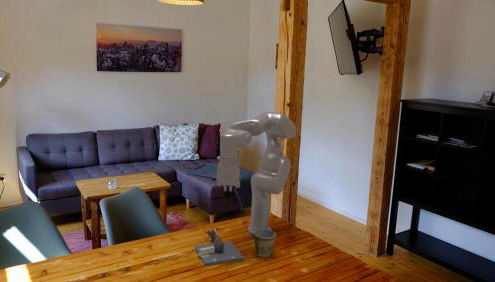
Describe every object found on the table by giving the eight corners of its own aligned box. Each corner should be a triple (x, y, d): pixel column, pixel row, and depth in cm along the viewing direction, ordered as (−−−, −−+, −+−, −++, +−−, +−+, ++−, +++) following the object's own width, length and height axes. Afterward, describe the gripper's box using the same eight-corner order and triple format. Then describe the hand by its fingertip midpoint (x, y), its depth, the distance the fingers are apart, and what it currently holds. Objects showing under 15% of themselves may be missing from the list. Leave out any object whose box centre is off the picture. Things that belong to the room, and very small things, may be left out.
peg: (220, 248, 190) (221, 240, 190) (225, 252, 187) (225, 244, 186) (198, 253, 185) (198, 244, 184) (202, 257, 181) (202, 248, 180)
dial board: (192, 248, 192) (192, 245, 192) (230, 243, 199) (230, 240, 199) (203, 266, 176) (203, 263, 176) (243, 259, 183) (244, 257, 183)
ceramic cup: (271, 260, 183) (272, 239, 182) (250, 256, 187) (251, 236, 185) (278, 248, 196) (279, 229, 194) (258, 245, 199) (259, 225, 197)
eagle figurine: (200, 237, 201) (208, 241, 194) (206, 224, 203) (214, 227, 196) (212, 243, 205) (220, 247, 197) (218, 230, 207) (227, 233, 199)
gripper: (210, 161, 181) (210, 199, 185) (243, 163, 177) (242, 203, 182) (215, 156, 188) (215, 194, 192) (246, 159, 185) (246, 197, 189)
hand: (228, 198), depth 187 cm, fingers closed
